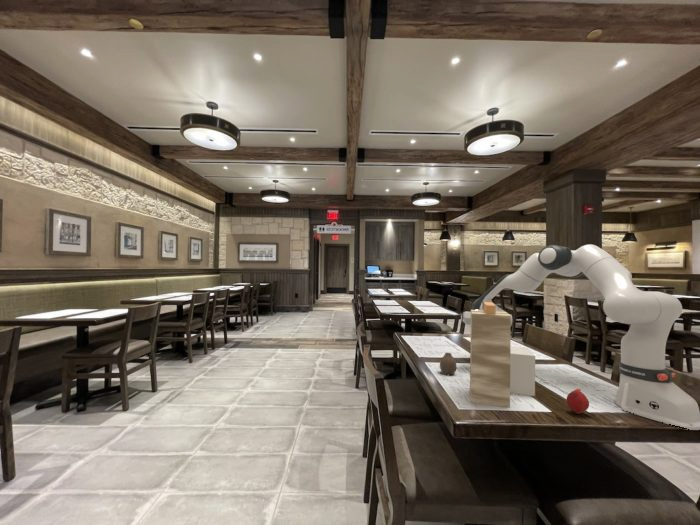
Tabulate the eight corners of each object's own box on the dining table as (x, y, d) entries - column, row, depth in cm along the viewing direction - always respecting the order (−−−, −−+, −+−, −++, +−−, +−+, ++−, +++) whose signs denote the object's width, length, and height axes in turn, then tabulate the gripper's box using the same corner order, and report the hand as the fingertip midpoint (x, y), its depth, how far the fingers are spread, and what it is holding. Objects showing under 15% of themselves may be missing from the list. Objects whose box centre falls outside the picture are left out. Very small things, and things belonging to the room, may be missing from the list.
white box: (494, 380, 132) (495, 345, 133) (527, 384, 129) (528, 347, 129) (498, 391, 120) (498, 352, 121) (534, 396, 116) (535, 355, 117)
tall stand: (469, 389, 122) (470, 309, 122) (505, 394, 118) (505, 311, 118) (470, 401, 110) (472, 313, 111) (509, 407, 106) (510, 315, 107)
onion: (579, 418, 99) (579, 392, 99) (562, 410, 105) (562, 385, 105) (593, 416, 101) (593, 390, 101) (575, 408, 106) (575, 384, 106)
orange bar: (482, 308, 128) (482, 300, 128) (490, 308, 127) (490, 301, 127) (486, 313, 110) (486, 305, 110) (495, 314, 109) (495, 305, 110)
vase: (458, 376, 137) (458, 355, 137) (442, 376, 137) (442, 355, 137) (453, 371, 144) (453, 351, 144) (437, 370, 144) (438, 351, 144)
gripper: (462, 315, 155) (462, 303, 144) (509, 319, 149) (513, 306, 137) (462, 328, 152) (462, 317, 141) (510, 332, 145) (514, 320, 134)
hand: (488, 311), depth 139 cm, fingers open, 8 cm apart
